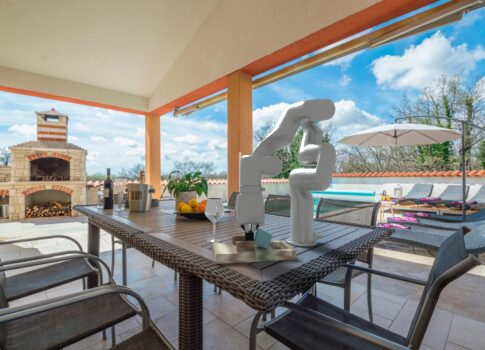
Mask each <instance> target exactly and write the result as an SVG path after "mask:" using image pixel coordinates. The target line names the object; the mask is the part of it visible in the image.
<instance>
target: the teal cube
mask: <svg viewBox="0 0 485 350" xmlns="http://www.w3.org/2000/svg"><path fill="white" fill-rule="evenodd" d="M273 236H274V235H273V233H272V232H270V231H268V230H265V229H263V228H261V227H259V228H258V229H257V230H256V231H255V232H254V241H255V245H258V246H261V247H263V248H266V249H268V247H269V244H270V241H272V238H273Z"/></svg>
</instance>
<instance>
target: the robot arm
mask: <svg viewBox="0 0 485 350" xmlns="http://www.w3.org/2000/svg"><path fill="white" fill-rule="evenodd" d="M335 113H336V105H335V102H334V101H333V100H331V99H330V98H316V99H314V98H312V99H305V100H302V101H298V102H294V103H291V104H289V105H287V106H286V107H285V108H284V110H283V111H282V114H281V115H280V117H279V119H278V121H277V122H276V124H275V126H274V128H273V130H272V131H271V132H270V133H269V134H268V135H267V136H266V137H264V138H263V139H262V140H261V141H260V142H259V143H258V144H257V145H256V146H255V148H254V150H253V151H252V153H251V154H248V155H247V154H246V155H242V156H241V157H240V160H239V161H240V163H239V167H240V168H239V194H238V193H237V194H236V199H235V205H234V206H235V207H234V224H233V225H234V227H236V228H241V229H242V230H243V232H244V235H245V241H254V234H255V231H256V230H257V229H258V228H261V227H264V226H266V225H265V224H266V223H265V219H266V213H265V211H266V210H265V202H264V195H263V194H262V193H263V192H265V191H266V188H265V187H263V186H262V177H263V178H264V177H265V178H266V177H267V178H274V177H277V176H279V175H280V174H281V173H282V171H283V167H284V165H283V162H282V160H281V159H280V158H278V157H277V156H274V155H273V154H274V153H275V152H277V151H279V150H281V149H283V148H285V147H288V145H290V144H291V143H292V142H293V140H294V138H295V136H296V134H297V132H298V130H299V128H301V131H302V138H301V142H300V146H299V150H298V153H297V162H298V164H299V165H301V166H303V167H296V168H293V169H292V170H290V173H289V175H288V186H289V191H290V213H289V214H290V219H289V220H290V223H289V224H290V225H289V229H290V230H289V236H288V237H287V238H286V241H285V243H287V244H288V245H290V246H291V245H292V246H295V247H314V246H317V244H318V239H324V238H325V234H324V233H318V232H315V231H314V224H315V223H314V220H315V219H314V216H315V213H314V212H315V210H314V209H315V208H314V207H315V200H314V197H313V195H312V192H325V191H327V190H328V189H329V187H330V186H331V182H332V177H333V174H334V170H335V169H334V168H335V165H336V162H337V161H336V159H337V153H336V152H337V151H336V148H335V146H334V145H333V144H332V143H330V142H323V139H324V135H323V131H322V129H321V128H320V127H319V125H318V124H317V123H318V122H322V121H323V122H324V121H329V120H331V119H332V118H334V116H335ZM249 225H250V228H249Z"/></svg>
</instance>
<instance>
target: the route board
mask: <svg viewBox="0 0 485 350" xmlns="http://www.w3.org/2000/svg"><path fill="white" fill-rule="evenodd" d="M211 244H212V245H211V246H212V249H211V251H212V256H213V258H214V262H215V264H216V265H221V264H222V265H223V264H238V263H239V264H240V263H254V262H255V263H256V262H271V261H275V262H277V261H289V260H297V250H296V249H295V248H293V247H292V246H291V245H290V244H289V243H287V242H286V241H284V240H280V239H278V240H271V241H270V244H269V247H268V249H266V248H263V247H261V246H258V245H255V241H245V234H233V235H231V242H219V243H211Z"/></svg>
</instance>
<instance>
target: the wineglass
mask: <svg viewBox="0 0 485 350" xmlns="http://www.w3.org/2000/svg"><path fill="white" fill-rule="evenodd" d="M204 215H205V217H206V218H207V219H208V220H210V222H211V223H212V225H213V226H212V227H213V229H212V230H213V232H212V234H213V235H212V238H209V239H206V242H207V243H209V244H212V243H222V239H220V238H216V224H217V222H219V221H220V220H221V219H222V218H223V217H224V215H225V207H224V202H223V199H222V197H221V198H220V197H209V198H207V201H206V204H205V208H204Z"/></svg>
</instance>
